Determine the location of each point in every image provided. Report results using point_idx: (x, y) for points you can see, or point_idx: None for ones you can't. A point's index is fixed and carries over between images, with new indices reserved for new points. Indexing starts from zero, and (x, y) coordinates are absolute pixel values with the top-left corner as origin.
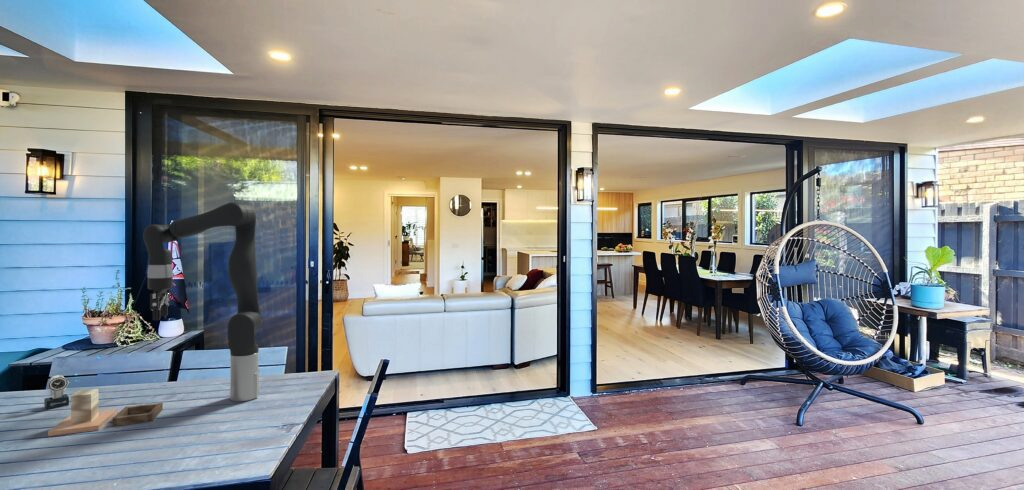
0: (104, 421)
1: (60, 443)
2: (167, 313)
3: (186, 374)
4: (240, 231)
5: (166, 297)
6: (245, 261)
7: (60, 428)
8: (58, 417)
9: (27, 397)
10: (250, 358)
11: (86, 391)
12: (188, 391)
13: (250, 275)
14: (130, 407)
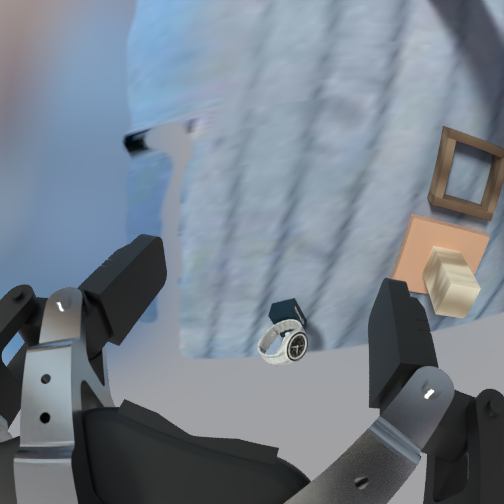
0: (469, 230)
1: (500, 272)
2: (138, 243)
3: (139, 113)
4: None
5: (82, 457)
6: None
7: None
8: (365, 300)
9: (214, 344)
10: None
11: (454, 300)
12: (311, 70)
13: None
14: (443, 194)
